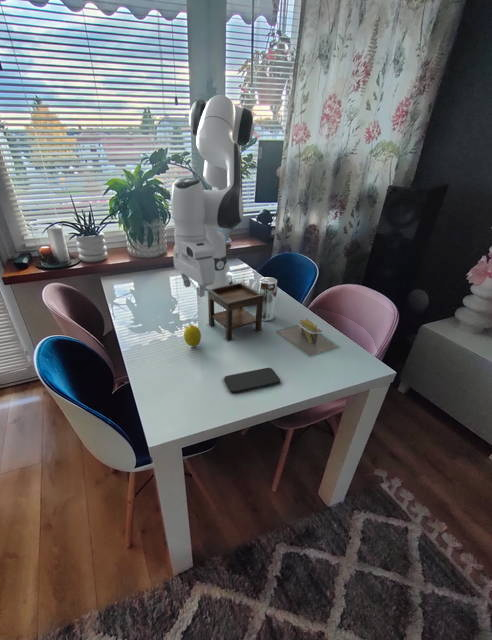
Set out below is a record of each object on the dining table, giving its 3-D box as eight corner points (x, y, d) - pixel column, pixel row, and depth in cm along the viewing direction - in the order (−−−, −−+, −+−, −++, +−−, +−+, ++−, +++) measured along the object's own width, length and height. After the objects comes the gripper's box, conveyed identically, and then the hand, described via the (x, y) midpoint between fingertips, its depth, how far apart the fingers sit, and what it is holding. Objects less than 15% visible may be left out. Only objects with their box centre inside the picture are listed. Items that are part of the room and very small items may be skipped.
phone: (223, 376, 94) (270, 366, 97) (223, 378, 94) (270, 369, 98) (231, 391, 88) (281, 381, 91) (231, 394, 88) (281, 383, 92)
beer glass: (273, 322, 123) (277, 284, 115) (255, 320, 125) (257, 283, 116) (275, 314, 129) (278, 277, 121) (257, 312, 130) (259, 276, 122)
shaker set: (235, 309, 133) (235, 283, 127) (230, 305, 137) (230, 279, 130) (260, 304, 137) (262, 278, 131) (255, 300, 141) (257, 275, 134)
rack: (208, 324, 122) (207, 289, 114) (240, 316, 128) (241, 282, 120) (228, 340, 112) (228, 303, 104) (261, 330, 118) (263, 294, 110)
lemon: (194, 340, 112) (192, 319, 108) (204, 346, 109) (203, 325, 105) (181, 346, 109) (179, 325, 105) (192, 352, 106) (190, 331, 101)
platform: (309, 356, 104) (312, 338, 100) (277, 331, 117) (279, 315, 113) (338, 347, 108) (342, 329, 105) (303, 324, 122) (306, 308, 118)
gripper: (166, 238, 98) (170, 283, 105) (197, 254, 83) (200, 304, 90) (185, 236, 100) (188, 279, 108) (218, 250, 86) (219, 299, 93)
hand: (193, 290), depth 99 cm, fingers open, 8 cm apart
